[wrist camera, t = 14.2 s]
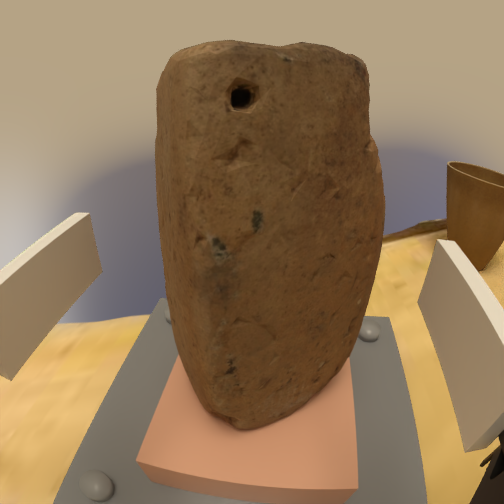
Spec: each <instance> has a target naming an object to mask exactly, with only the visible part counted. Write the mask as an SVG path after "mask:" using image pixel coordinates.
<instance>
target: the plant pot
mask: <svg viewBox="0 0 504 504" xmlns="http://www.w3.org/2000/svg"><path fill="white" fill-rule="evenodd" d="M446 198H447V237H448V240H449V241H455V242H456V244H457V245H458V246H459V248H460V249H461V250H462V251H463V253H464V254H465V255H466V257H467V258H468V259H469V261H470V262H471V263H472V265H473V266H474V267H475V269H476V270H477V271H480V270H482V269H483V268H484V267H485V266H486V265H487V264H488V262H489V261H490V260H491V259H492V257H493V256H494V254H495V253H496V252H497V250H498V249H499V247H500V246H501V244H502V243H503V241H504V174H501V173H499V172H496V171H493V170H490V169H487V168H484V167H480V166H477V165H473V164H469V163H463V162H456V161H455V162H454V161H453V162H448V163H447V196H446Z"/></svg>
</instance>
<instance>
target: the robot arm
mask: <svg viewBox="0 0 504 504" xmlns="http://www.w3.org/2000/svg"><path fill="white" fill-rule="evenodd" d="M101 273H102V267H101V263H100V260H99V255H98V251H97V246H96V242H95V238H94V233H93V228H92V223H91V218H90V213H75V214H73V215H72V216H70V217H69V218H67V219H66V220H65V221H63V222H62V223H60V224H59V225H58V226H56V227H55V228H54V229H52V230H51V231H49V232H48V233H47V234H45V235H44V236H43V237H41V238H40V239H39V240H37V241H36V242H35V243H34V244H32V245H31V246H30V247H28V248H27V249H26V250H24V251H23V252H22V253H21V254H19V255H18V256H17V257H16V258H14V259H13V260H12V261H11V262H10V263H8V264H7V265H6V266H5V267H4V268H2V269H1V270H0V375H1V376H3V377H5V378H7V379H8V380H10V381H12V379H13V378H14V377H15V375H16V374H17V373H18V371H19V370H20V369H21V367H22V366H23V365H24V363H25V362H26V361H27V359H28V358H29V357H30V356H31V354H32V353H33V352H34V351H35V349H36V348H37V347H38V346H39V344H40V343H41V342H42V341H43V339H44V338H45V337H46V336H47V334H48V333H49V332H50V331H51V330H52V328H53V327H54V326H55V325H56V324H57V322H58V321H59V320H60V319H61V317H63V315H64V314H65V313H66V312H67V311H68V310H69V308H70V307H71V306H72V305H73V304H74V303H75V301H76V300H77V299H78V298H79V297H80V296H81V295H82V294H83V293H84V291H85V290H86V289H87V288H88V287H89V286H90V285H91V284H92V282H93V281H94V280H95V279H96V278H97V277H98V276H99V275H100V274H101ZM418 305H419V307H420V310H421V312H422V315H423V317H424V320H425V323H426V325H427V328H428V330H429V333H430V336H431V339H432V341H433V344H434V347H435V350H436V353H437V355H438V358H439V361H440V364H441V367H442V370H443V374H444V377H445V380H446V383H447V386H448V390H449V393H450V396H451V400H452V403H453V407H454V410H455V414H456V418H457V422H458V426H459V430H460V434H461V438H462V442H463V447H464V451H465V452H470V451H475V450H480V449H484V448H487V447H488V446H489V445H490V444H491V443H492V442H493V441H494V440H495V439H496V438H497V437H499V440H500V444H501V445H500V446H499V447H498V448H497V449H495V450H494V451H493V452H492V453H491V454H490V455H489V456H488V457H487V458H485V459H484V460H483V462H482V463H481V464H480V466H481V467H483V466H484V465H485V464H487V463H488V462H489V461H490V460H491V461H490V463H489V465H488V467H487V468H486V472H485V474H484V476H483V478H482V480H481V482H480V484H479V486H478V488H477V490H476V492H475V494H474V496H473V498H472V500H471V502H470V504H504V309H503V308H502V306H501V305H500V303H499V302H498V300H497V299H496V297H495V296H494V294H493V293H492V291H491V290H490V288H489V287H488V285H487V284H486V282H485V281H484V280H483V278H482V277H481V275H480V274H479V273H478V271H477V270H476V269H475V267H474V266H473V265H472V263H471V262H470V261H469V259H468V258H467V257H466V255H465V254H464V253H463V251H462V250H461V249H460V248H459V246H458V245H457V244H456V242H455V241H449V240H441V239H437V241H436V245H435V248H434V252H433V255H432V259H431V262H430V265H429V269H428V272H427V275H426V278H425V281H424V284H423V287H422V290H421V293H420V296H419V299H418Z"/></svg>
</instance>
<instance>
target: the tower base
mask: <svg viewBox="0 0 504 504" xmlns="http://www.w3.org/2000/svg"><path fill="white" fill-rule="evenodd" d="M53 504H427V494H426V486H425V478H424V471H423V464H422V458H421V452H420V446H419V440H418V434H417V429H416V424H415V419H414V414H413V409H412V404H411V400H410V395H409V391H408V387H407V382H406V378H405V374H404V370H403V366H402V362H401V358H400V354H399V351H398V347H397V343H396V340H395V336H394V333H393V329H392V326H391V322H390V319H389V317H374V316H364V318H363V322H362V326H361V329H360V332H359V335H358V338H357V340H356V343H355V345H354V348H353V350H352V352H351V355H350V357H348V358H347V360H346V362H345V364H344V366H343V367H342V369H341V370H340V372H339V373H338V374H337V375H336V376H334V377H333V378H332V380H331V381H330V382H329V383H328V384H327V385H326V386H325V387H324V388H323V389H322V390H321V391H320V392H318V393H316V394H314V395H313V396H312V397H311V398H310V399H309V401H308V402H307V403H306V404H305V405H303V406H302V407H300V408H299V409H297V410H296V411H295V412H293V413H292V414H290V415H288V416H285V417H283V418H281V419H279V420H276V421H274V422H272V423H269V424H267V425H264V426H261V427H257V428H252V429H239V428H236V427H234V426H232V425H231V424H229V423H228V422H226V421H224V420H223V419H221V418H220V417H218V416H215V415H213V414H210V413H208V412H207V411H206V410H205V409H204V407H203V406H202V404H201V403H200V401H199V399H198V397H197V395H196V393H195V391H194V390H193V387H192V385H191V383H190V380H189V378H188V376H187V374H186V372H185V369H184V367H183V364H182V361H181V359H180V356H179V353H178V350H177V346H176V343H175V340H174V335H173V330H172V325H171V319H170V311H169V306H168V302H167V298H161V299H160V300H159V302H158V304H157V305H156V307H155V309H154V310H153V312H152V314H151V315H150V317H149V319H148V321H147V322H146V324H145V326H144V328H143V329H142V331H141V333H140V334H139V336H138V338H137V340H136V341H135V343H134V345H133V347H132V349H131V350H130V352H129V354H128V356H127V357H126V359H125V361H124V363H123V365H122V366H121V368H120V370H119V372H118V374H117V376H116V377H115V379H114V381H113V383H112V385H111V387H110V389H109V390H108V392H107V394H106V396H105V398H104V400H103V402H102V404H101V405H100V407H99V409H98V411H97V413H96V415H95V417H94V419H93V421H92V423H91V425H90V427H89V429H88V431H87V433H86V435H85V437H84V439H83V441H82V443H81V445H80V447H79V449H78V451H77V453H76V455H75V457H74V459H73V461H72V463H71V465H70V467H69V470H68V472H67V474H66V476H65V478H64V480H63V482H62V484H61V487H60V489H59V491H58V493H57V495H56V498H55V500H54V502H53Z"/></svg>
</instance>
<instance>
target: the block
mask: <svg viewBox="0 0 504 504" xmlns="http://www.w3.org/2000/svg"><path fill="white" fill-rule="evenodd" d="M369 86H370V84H369V74H368V71H367V67H366V65H365V63H364V62H363V60H361V59H360V58H358V57H356V56H355V55H353V54H345V53H343V52H341V51H339V50H337V49H335V48H333V47H328V46H324V45H318V44H311V43H305V42H299V43H295V44H290V45H286V46H281V47H280V46H279V47H278V46H271V45H265V44H255V43H249V42H242V41H235V40H225V41H213V42H206V43H202V44H199V45H195V46H191V47H188V48H185V49H182V50H180V51H178V52H176V53H175V54H174V55H172V56H171V57H170V59H169V61H168V63H167V65H166V67H165V69H164V71H163V72H162V74H161V77H160V80H159V83H158V86H157V89H156V91H157V136H156V141H155V164H156V190H157V207H158V217H159V232H160V241H161V251H162V257H163V264H164V275H165V280H166V283H165V285H166V286H165V288H166V295H167V302H168V306H169V311H170V319H171V325H172V330H173V335H174V340H175V343H176V346H177V350H178V353H179V356H180V359H181V361H182V364H183V367H184V369H185V372H186V374H187V376H188V378H189V380H190V383H191V385H192V387H193V390H194V391H195V393H196V395H197V397H198V399H199V401H200V403H201V404H202V406H203V407H204V409H205V410H206V411H207V412H208V413H210V414H213V415H215V416H218V417H220V418H221V419H223V420H224V421H226V422H228V423H229V424H231V425H232V426H234V427H236V428H239V429H252V428H257V427H261V426H264V425H267V424H269V423H272V422H274V421H276V420H279V419H281V418H283V417H285V416H288V415H290V414H292V413H293V412H295V411H296V410H297V409H299V408H300V407H302V406H303V405H305V404H306V403H307V402H308V401H309V399H310V398H311V397H312V396H313V395H314V394H316V393H318V392H320V391H321V390H322V389H323V388H324V387H325V386H326V385H327V384H328V383H329V382H330V381H331V380H332V378H333V377H334V376H336V375H337V374H338V373H339V372H340V370H341V369H342V367H343V366H344V364H345V362H346V360H347V358H348V357H350V355H351V352H352V350H353V348H354V345H355V343H356V340H357V338H358V335H359V332H360V329H361V326H362V322H363V318H364V315H365V312H366V308H367V305H368V302H369V298H370V294H371V290H372V287H373V283H374V280H375V275H376V270H377V266H378V262H379V258H380V253H381V247H382V239H383V231H384V220H385V196H384V192H383V180H382V170H381V164H380V160H379V157H378V149H377V146H376V144H375V141H374V140H373V138H372V136H371V135H370V125H369V111H368V110H369V102H370V97H369Z"/></svg>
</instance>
